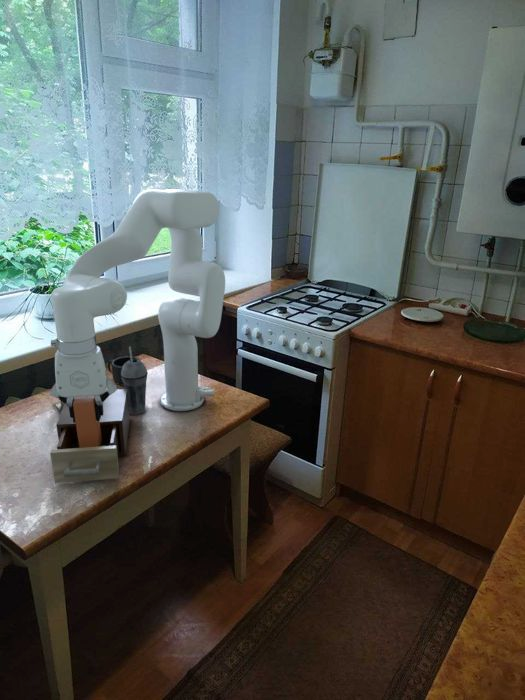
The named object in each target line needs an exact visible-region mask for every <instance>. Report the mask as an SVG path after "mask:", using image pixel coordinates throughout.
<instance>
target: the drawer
mask: <svg viewBox="0 0 525 700" xmlns="http://www.w3.org/2000/svg"><path fill="white" fill-rule="evenodd" d="M100 428H101V436H102V442H101V446H100V447H86V448H79V441H78V434H77V428H76V427H64V428H63V431H62V434H61V437H60V439H59V440H58V442H57V445H56V449H51V450H50V452H49V454H50V460H51V468H52V475H53V480H54V481H53V482H54V484H63V483H74V482H75V483H76V482H87V481H89V482H90V481H98V480H99V481H101V480H102V481H103V480H113V479H120V468H119V456H118V454H119V448H120V433H119V424H112V425H100Z"/></svg>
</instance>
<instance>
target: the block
mask: <svg viewBox="0 0 525 700" xmlns="http://www.w3.org/2000/svg"><path fill="white" fill-rule="evenodd" d="M95 402H96V401H95V398H94V396H81V397H75V399H74V402H73V407H74V414H75V421H76V428H77V434H78V441H79V448H86V447H100V446H101V442H102V436H101V428H100V421H96V414H95Z"/></svg>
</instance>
